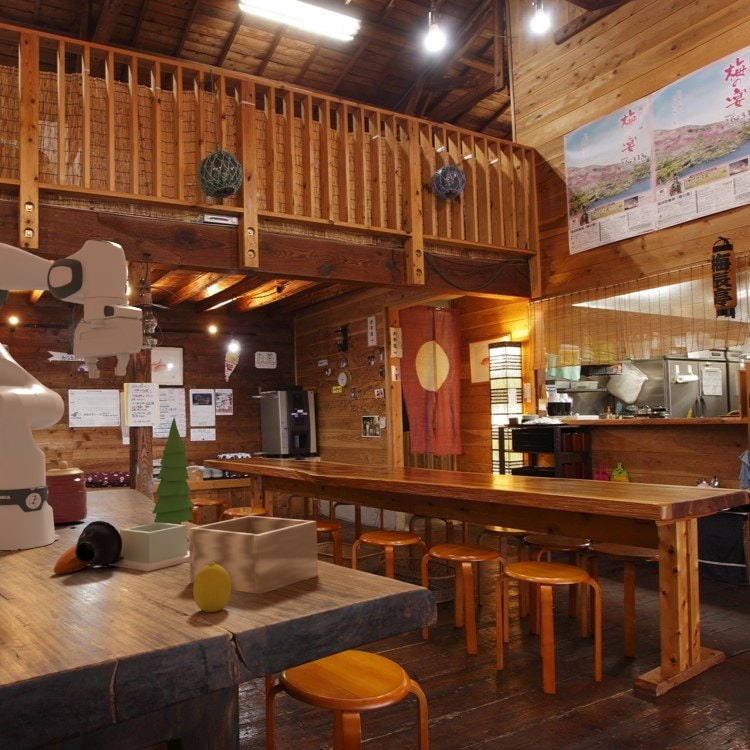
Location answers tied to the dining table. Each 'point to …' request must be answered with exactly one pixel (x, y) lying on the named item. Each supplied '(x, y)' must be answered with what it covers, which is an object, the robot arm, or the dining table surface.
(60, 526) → the dining table surface
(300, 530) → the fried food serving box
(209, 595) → the lemon
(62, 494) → the canister
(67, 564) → the carrot
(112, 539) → the bowl of food
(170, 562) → the open rectangular box
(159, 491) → the decorative tree
